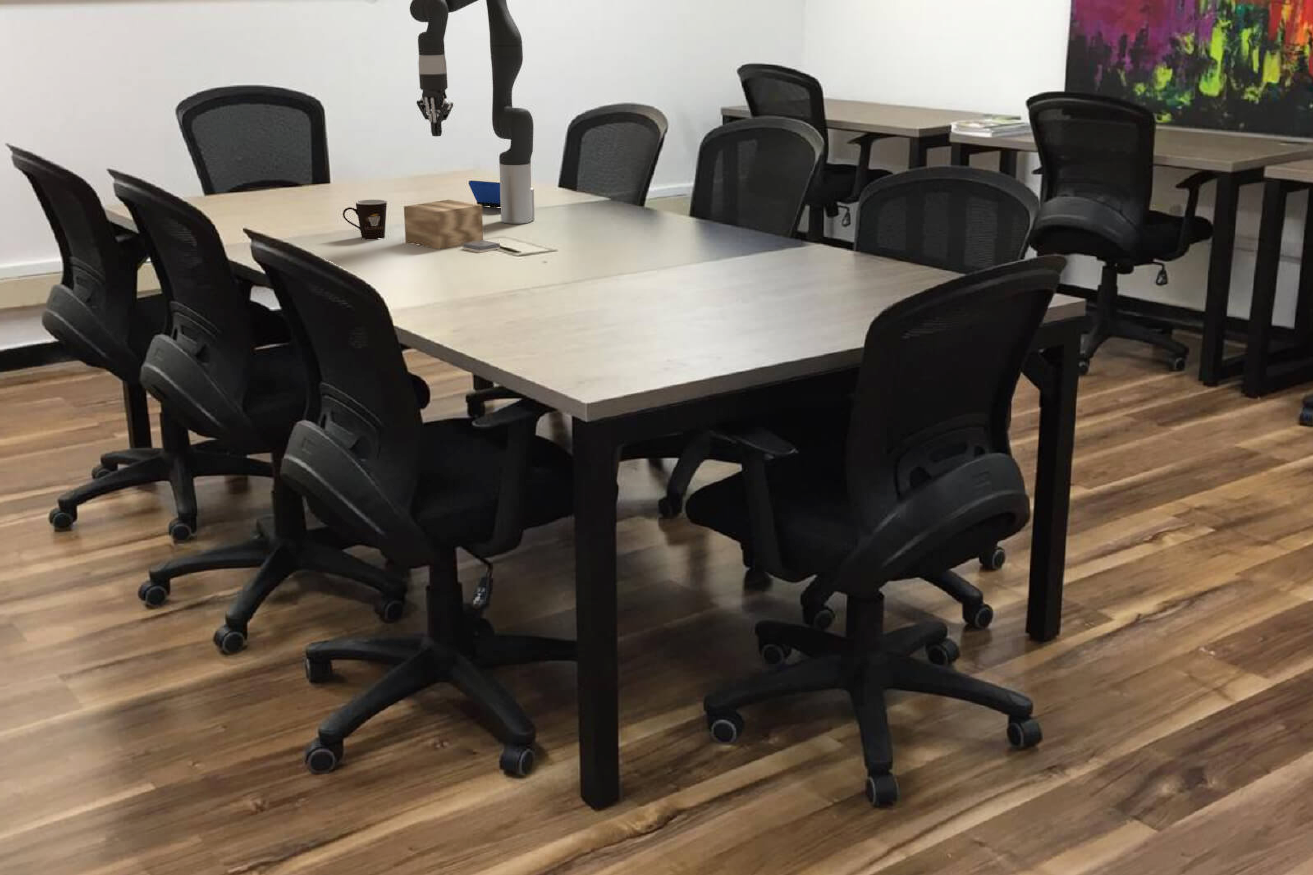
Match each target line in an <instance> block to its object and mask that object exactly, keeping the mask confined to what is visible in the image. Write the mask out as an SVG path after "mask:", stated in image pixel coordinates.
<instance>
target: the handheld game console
mask: <svg viewBox="0 0 1313 875" xmlns="http://www.w3.org/2000/svg"><path fill="white" fill-rule="evenodd" d="M468 185H469V188H470V190H471V192H472V194H473V196H474V199H475V201H476V204H479V205H482V206H490V207H501V200H500V182H496V181H484V180H483V181H481V180H472V179H471V180H469V181H468Z"/></svg>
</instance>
